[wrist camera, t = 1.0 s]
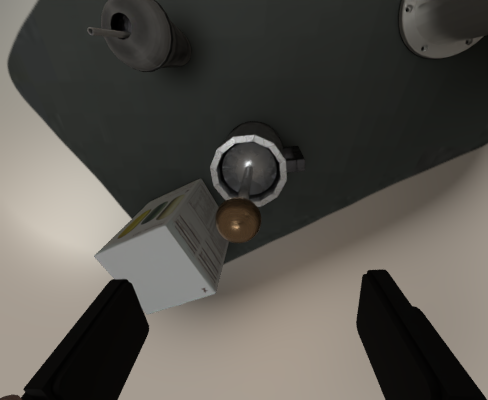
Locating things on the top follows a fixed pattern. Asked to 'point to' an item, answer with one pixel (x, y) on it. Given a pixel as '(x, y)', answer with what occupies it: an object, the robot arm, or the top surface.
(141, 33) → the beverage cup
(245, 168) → the plunger
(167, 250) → the supplement box
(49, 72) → the top surface
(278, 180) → the carafe
